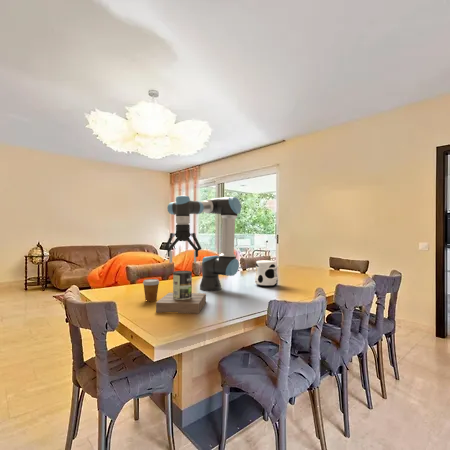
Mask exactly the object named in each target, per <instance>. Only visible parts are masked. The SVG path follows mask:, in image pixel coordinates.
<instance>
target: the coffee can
mask: <svg viewBox="0 0 450 450" xmlns="http://www.w3.org/2000/svg"><path fill="white" fill-rule="evenodd" d="M192 275H193V271H191V270H176V271H173V272H172V289H173V290H172V293H173V299H176V300H187V299H191V298H192V293H193V292H192V286H193V284H192V282H193V281H192V280H193V279H192V278H193V276H192Z"/></svg>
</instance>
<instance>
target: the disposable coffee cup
mask: <svg viewBox="0 0 450 450" xmlns="http://www.w3.org/2000/svg"><path fill="white" fill-rule="evenodd" d="M142 284H143V291H144V298H145V299H144V300H145V301H146V300H147V301H154V300H156V301H158V292H159V291H158V290H159V284H160V280H159V279H158V278H149V279H144V280H143V282H142ZM147 301H146V302H147ZM154 302H155V301H154Z"/></svg>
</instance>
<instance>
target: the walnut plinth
mask: <svg viewBox="0 0 450 450" xmlns="http://www.w3.org/2000/svg"><path fill="white" fill-rule="evenodd" d="M155 302H156V303H155V313H162V312H178V313H177V314H191V313H199V314H200V312H201V310H202V309H203V307H204V306H205V304H206V302H207V293H201V292H199V293H197V292H196V293H194V292H192V298H191V299H187V300H176V299H173V292H168V293H166V295H164V296H163V297H161V298H160V299H158V300H156V301H155Z"/></svg>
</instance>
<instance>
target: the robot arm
mask: <svg viewBox="0 0 450 450" xmlns="http://www.w3.org/2000/svg"><path fill="white" fill-rule="evenodd" d="M241 211H242V204H241V201H240V200H239V198H238V197H235V196H225V197H224V196H223V197H215V198H211V199H205V200H203V201H202V200H200V201H199V200H191V199H190V196H188V195H177V196H176V198H175V201H173V202H169V203H168V205H167V213H169V214H170V215H173V216H174V215H175V224H176V225H175V233H174V232H171V233H170V232H169V233H170V234H169V238H168V240H167V242H166V243H165V246H164V251H167V257H168V258H169V264H172V263H173V250H172V249H173V248H174V247H175V246H176V244H178V242H187V243H189V245H190V246H191V247H192V248H193V249H194V251H193V264H196V263H197V258H198V257H199V251H200V250H202V246H201V244H200V242H199V241H198V239H197V236H196V235H197V233H196V232H192V233H191V230H190V229H191V228H190V227H191V226H190V223H191V222H190V221H191V219H190V216H191V215H200V214H202V213H205V214H212V215H213V214H214V215H215V214H216V215H220V217H221V218H222V225H221V226H222V232H221V251H220V252H221V253H220V254H218V255H210V256H204V257H203V258H202V260H201V264H202V266H201V267H202V268H201V269H202V275H201V276H202V278H201V280H200V284H199V290H201V291H209V292H211V291H214V292H215V291H220V290H221V289H222V285H221V280H220V277H219V276H227V277H232V276H233V277H234V276H235V275H236V274H237V273H238V271H239V268H240V267H239V266H240V262H239V259H237V255H235V234H236V232H235V231H236V229H235V228H236V219H237V218H238V215H239V214H240V213H241ZM174 237H175V239H174ZM190 237H191V238H193V241H194V242H193V241H192V239H191V238H190ZM173 239H174V241H173V242H172V240H173ZM171 242H172V243H171ZM194 243H195V244H194Z"/></svg>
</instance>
